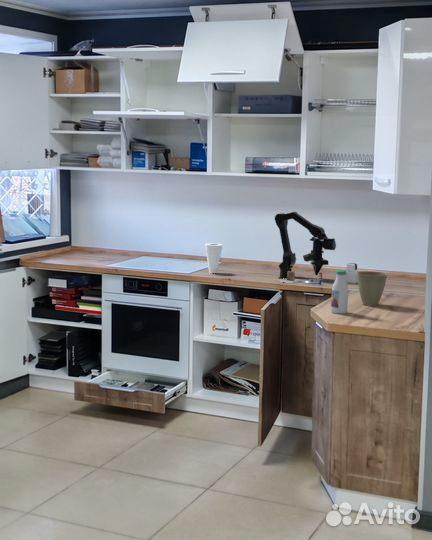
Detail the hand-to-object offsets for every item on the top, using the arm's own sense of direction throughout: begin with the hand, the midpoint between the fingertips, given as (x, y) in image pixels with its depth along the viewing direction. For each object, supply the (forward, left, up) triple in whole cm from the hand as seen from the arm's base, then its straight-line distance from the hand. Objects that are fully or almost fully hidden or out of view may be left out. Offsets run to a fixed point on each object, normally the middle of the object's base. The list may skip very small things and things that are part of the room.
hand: (316, 275), depth 459 cm
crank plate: (+6, -10, -4) cm, 12 cm away
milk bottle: (+61, -69, -4) cm, 92 cm away
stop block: (-7, -15, -4) cm, 17 cm away
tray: (-7, -15, -4) cm, 17 cm away
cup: (-59, -25, -4) cm, 64 cm away
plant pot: (+60, -39, -4) cm, 72 cm away
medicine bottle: (+17, +12, -4) cm, 21 cm away
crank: (+4, -8, -3) cm, 10 cm away
